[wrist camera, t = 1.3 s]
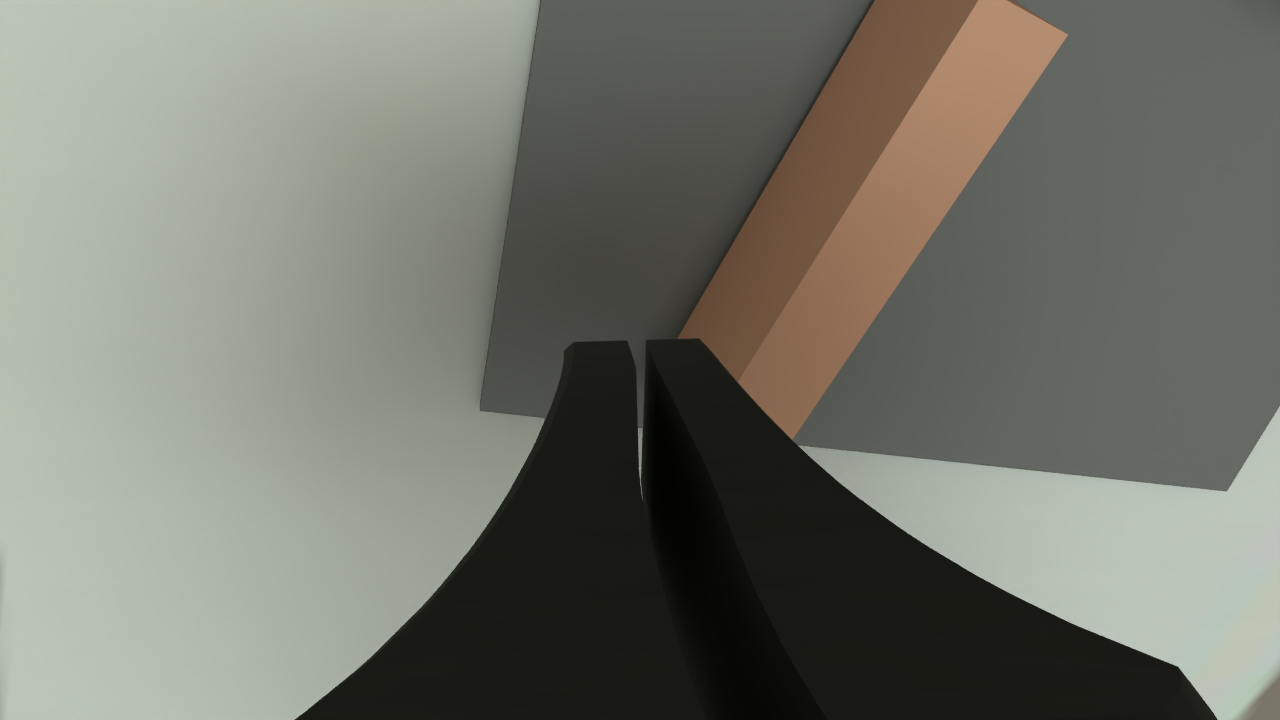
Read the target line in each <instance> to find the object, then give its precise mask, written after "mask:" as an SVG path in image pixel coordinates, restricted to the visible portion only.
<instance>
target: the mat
mask: <svg viewBox="0 0 1280 720" xmlns="http://www.w3.org/2000/svg"><path fill="white" fill-rule="evenodd" d="M874 1H875V0H541V2H540V8H539V15H538V22H537V28H536V35H535V42H534V48H533V55H532V62H531V68H530V75H529V82H528V88H527V95H526V102H525V108H524V115H523V122H522V128H521V135H520V142H519V148H518V155H517V161H516V168H515V175H514V181H513V188H512V195H511V201H510V208H509V215H508V221H507V228H506V235H505V241H504V248H503V255H502V261H501V268H500V275H499V281H498V288H497V295H496V301H495V308H494V314H493V321H492V328H491V334H490V341H489V348H488V354H487V361H486V368H485V374H484V381H483V388H482V394H481V401H480V411H487V412H496V413H506V414H515V415H524V416H533V417H543V418H546V417H547V415H548V412H549V410H550V408H551V405H552V402H553V399H554V396H555V393H556V390H557V387H558V384H559V381H560V377H561V373H562V367H563V362H564V350H565V349H566V348H567V347H568V346H570V345H571V344H572V343H573V342H586V341H622V340H627V342H628V344H629V347H630V350H631V352H632V356H633V359H634V363H635V366H636V376H637V416H638V428H643V410H644V381H645V352H646V340H657V339H677V338H678V336H679V335H680V333H681V331H682V330H683V328H684V326H685V324H686V323H687V321H688V319H689V318H690V316H691V314H692V312H693V311H694V309H695V307H696V306H697V304H698V302H699V300H700V299H701V297H702V295H703V294H704V292H705V290H706V288H707V287H708V285H709V283H710V282H711V280H712V278H713V276H714V275H715V273H716V271H717V270H718V268H719V266H720V264H721V263H722V261H723V259H724V258H725V256H726V254H727V253H728V251H729V249H730V247H731V246H732V244H733V242H734V241H735V239H736V237H737V235H738V234H739V232H740V230H741V229H742V227H743V225H744V223H745V222H746V220H747V218H748V217H749V215H750V213H751V211H752V210H753V208H754V206H755V205H756V203H757V201H758V199H759V198H760V196H761V194H762V193H763V191H764V189H765V187H766V186H767V184H768V182H769V181H770V179H771V177H772V175H773V174H774V172H775V170H776V169H777V167H778V165H779V163H780V162H781V160H782V158H783V157H784V155H785V153H786V152H787V150H788V148H789V146H790V145H791V143H792V141H793V140H794V138H795V136H796V134H797V133H798V131H799V129H800V128H801V126H802V124H803V122H804V121H805V119H806V117H807V116H808V114H809V112H810V110H811V109H812V107H813V105H814V104H815V102H816V100H817V98H818V97H819V95H820V93H821V92H822V90H823V88H824V86H825V85H826V83H827V81H828V80H829V78H830V76H831V74H832V73H833V71H834V69H835V68H836V66H837V64H838V63H839V61H840V59H841V57H842V56H843V54H844V52H845V51H846V49H847V47H848V45H849V44H850V42H851V40H852V39H853V37H854V35H855V33H856V32H857V30H858V28H859V27H860V25H861V23H862V21H863V20H864V18H865V16H866V15H867V13H868V11H869V9H870V8H871V6H872V4H873V3H874ZM1015 1H1017V2H1018V3H1020V4H1021V5H1023V6H1024V7H1026V8H1027V9H1029V10H1031V11H1032V12H1034V13H1035V14H1037V15H1038V16H1040V17H1041V18H1043V19H1045V20H1046V21H1048V22H1049V23H1051V24H1052V25H1054V26H1055V27H1057V28H1059V29H1060V30H1062V31H1063V32H1065V33H1066V34H1068V36H1067V37H1066V39H1065V40H1064V42H1063V43H1062V45H1061V46H1060V48H1059V49H1058V51H1057V52H1056V53H1055V55H1054V56H1053V58H1052V59H1051V61H1050V62H1049V64H1048V65H1047V67H1046V68H1045V70H1044V71H1043V73H1042V74H1041V75H1040V77H1039V78H1038V80H1037V81H1036V83H1035V84H1034V86H1033V87H1032V89H1031V90H1030V92H1029V93H1028V95H1027V96H1026V97H1025V99H1024V100H1023V102H1022V103H1021V105H1020V106H1019V108H1018V109H1017V111H1016V112H1015V114H1014V115H1013V117H1012V118H1011V120H1010V121H1009V122H1008V124H1007V125H1006V127H1005V128H1004V130H1003V131H1002V133H1001V134H1000V136H999V137H998V139H997V140H996V142H995V143H994V144H993V146H992V147H991V149H990V150H989V152H988V153H987V155H986V156H985V158H984V159H983V161H982V162H981V164H980V165H979V166H978V168H977V169H976V171H975V172H974V174H973V175H972V177H971V178H970V180H969V181H968V183H967V184H966V186H965V187H964V189H963V190H962V191H961V193H960V194H959V196H958V197H957V199H956V200H955V202H954V203H953V205H952V206H951V208H950V209H949V211H948V212H947V213H946V215H945V216H944V218H943V219H942V221H941V222H940V224H939V225H938V227H937V228H936V230H935V231H934V233H933V234H932V235H931V237H930V238H929V240H928V241H927V243H926V244H925V246H924V247H923V249H922V250H921V252H920V253H919V255H918V256H917V258H916V259H915V260H914V262H913V263H912V265H911V266H910V268H909V269H908V271H907V272H906V274H905V275H904V277H903V278H902V280H901V281H900V282H899V284H898V285H897V287H896V288H895V290H894V291H893V293H892V294H891V296H890V297H889V299H888V300H887V302H886V303H885V304H884V306H883V307H882V309H881V310H880V312H879V313H878V315H877V316H876V318H875V319H874V321H873V322H872V324H871V325H870V326H869V328H868V329H867V331H866V332H865V334H864V335H863V337H862V338H861V340H860V341H859V343H858V344H857V346H856V347H855V349H854V350H853V351H852V353H851V354H850V356H849V357H848V359H847V360H846V362H845V363H844V365H843V366H842V368H841V369H840V371H839V372H838V373H837V375H836V376H835V378H834V379H833V381H832V382H831V384H830V385H829V387H828V388H827V390H826V391H825V393H824V394H823V395H822V397H821V398H820V400H819V401H818V403H817V404H816V406H815V407H814V409H813V410H812V412H811V413H810V415H809V416H808V418H807V419H806V420H805V422H804V423H803V425H802V426H801V428H800V429H799V431H798V432H797V434H796V435H795V437H794V438H793V441H794V442H795V443H796V444H797V445H802V446H811V447H821V448H830V449H839V450H848V451H858V452H867V453H876V454H885V455H895V456H904V457H913V458H923V459H932V460H941V461H950V462H960V463H969V464H978V465H987V466H997V467H1006V468H1015V469H1024V470H1034V471H1043V472H1052V473H1061V474H1071V475H1080V476H1089V477H1099V478H1108V479H1117V480H1126V481H1136V482H1145V483H1154V484H1163V485H1173V486H1182V487H1191V488H1200V489H1210V490H1219V491H1227V490H1228V489H1229V487H1230V486H1231V484H1232V482H1233V481H1234V479H1235V477H1236V476H1237V474H1238V473H1239V471H1240V469H1241V468H1242V466H1243V464H1244V463H1245V461H1246V460H1247V458H1248V456H1249V455H1250V453H1251V452H1252V450H1253V448H1254V447H1255V445H1256V443H1257V442H1258V440H1259V439H1260V437H1261V435H1262V434H1263V432H1264V430H1265V429H1266V427H1267V426H1268V424H1269V422H1270V421H1271V419H1272V418H1273V416H1274V414H1275V413H1276V411H1277V409H1278V408H1279V406H1280V0H1015Z"/></svg>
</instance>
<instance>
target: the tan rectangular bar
mask: <svg viewBox="0 0 1280 720" xmlns="http://www.w3.org/2000/svg"><path fill="white" fill-rule="evenodd" d="M1067 36H1068V34H1066V33H1065V32H1063V31H1062V30H1060V29H1059V28H1057V27H1055V26H1054V25H1052V24H1051V23H1049V22H1048V21H1046V20H1045V19H1043V18H1041V17H1040V16H1038V15H1037V14H1035V13H1034V12H1032V11H1031V10H1029V9H1027V8H1026V7H1024V6H1023V5H1021V4H1020V3H1018V2H1017V1H1015V0H875V1H874V3H873V4H872V6H871V8H870V9H869V11H868V13H867V15H866V16H865V18H864V20H863V21H862V23H861V25H860V27H859V28H858V30H857V32H856V33H855V35H854V37H853V39H852V40H851V42H850V44H849V45H848V47H847V49H846V51H845V52H844V54H843V56H842V57H841V59H840V61H839V63H838V64H837V66H836V68H835V69H834V71H833V73H832V74H831V76H830V78H829V80H828V81H827V83H826V85H825V86H824V88H823V90H822V92H821V93H820V95H819V97H818V98H817V100H816V102H815V104H814V105H813V107H812V109H811V110H810V112H809V114H808V116H807V117H806V119H805V121H804V122H803V124H802V126H801V128H800V129H799V131H798V133H797V134H796V136H795V138H794V140H793V141H792V143H791V145H790V146H789V148H788V150H787V152H786V153H785V155H784V157H783V158H782V160H781V162H780V163H779V165H778V167H777V169H776V170H775V172H774V174H773V175H772V177H771V179H770V181H769V182H768V184H767V186H766V187H765V189H764V191H763V193H762V194H761V196H760V198H759V199H758V201H757V203H756V205H755V206H754V208H753V210H752V211H751V213H750V215H749V217H748V218H747V220H746V222H745V223H744V225H743V227H742V229H741V230H740V232H739V234H738V235H737V237H736V239H735V241H734V242H733V244H732V246H731V247H730V249H729V251H728V253H727V254H726V256H725V258H724V259H723V261H722V263H721V264H720V266H719V268H718V270H717V271H716V273H715V275H714V276H713V278H712V280H711V282H710V283H709V285H708V287H707V288H706V290H705V292H704V294H703V295H702V297H701V299H700V300H699V302H698V304H697V306H696V307H695V309H694V311H693V312H692V314H691V316H690V318H689V319H688V321H687V323H686V324H685V326H684V328H683V330H682V331H681V333H680V335H679V336H678V338H677V339H692V338H699V339H700V340H701V341H702V342H703V343H704V344H705V345H706V346H707V347H708V348H709V349H710V350H711V351H712V353H713V354H714V355H715V356H716V357H717V358H718V360H719V361H720V362H721V363H722V364H723V366H724V367H725V368H726V369H727V370H728V372H729V373H730V374H731V375H732V376H733V377H734V378H735V380H736V381H737V382H738V383H739V384H740V385H741V386H742V388H743V389H744V390H745V391H746V392H747V393H748V394H749V395H750V397H751V398H752V399H753V400H754V401H755V402H756V403H757V404H758V405H759V406H760V407H761V409H762V410H763V411H764V412H765V413H766V414H767V415H768V416H769V417H770V418H771V419H772V420H773V421H774V422H775V423H776V424H777V425H778V426H779V427H780V428H781V429H782V430H783V431H784V432H785V433H786V434H787V435H788V436H789V437H790V438H791V439H792V440H793V438H794V437H795V435H796V434H797V432H798V431H799V429H800V428H801V426H802V425H803V423H804V422H805V420H806V419H807V418H808V416H809V415H810V413H811V412H812V410H813V409H814V407H815V406H816V404H817V403H818V401H819V400H820V398H821V397H822V395H823V394H824V393H825V391H826V390H827V388H828V387H829V385H830V384H831V382H832V381H833V379H834V378H835V376H836V375H837V373H838V372H839V371H840V369H841V368H842V366H843V365H844V363H845V362H846V360H847V359H848V357H849V356H850V354H851V353H852V351H853V350H854V349H855V347H856V346H857V344H858V343H859V341H860V340H861V338H862V337H863V335H864V334H865V332H866V331H867V329H868V328H869V326H870V325H871V324H872V322H873V321H874V319H875V318H876V316H877V315H878V313H879V312H880V310H881V309H882V307H883V306H884V304H885V303H886V302H887V300H888V299H889V297H890V296H891V294H892V293H893V291H894V290H895V288H896V287H897V285H898V284H899V282H900V281H901V280H902V278H903V277H904V275H905V274H906V272H907V271H908V269H909V268H910V266H911V265H912V263H913V262H914V260H915V259H916V258H917V256H918V255H919V253H920V252H921V250H922V249H923V247H924V246H925V244H926V243H927V241H928V240H929V238H930V237H931V235H932V234H933V233H934V231H935V230H936V228H937V227H938V225H939V224H940V222H941V221H942V219H943V218H944V216H945V215H946V213H947V212H948V211H949V209H950V208H951V206H952V205H953V203H954V202H955V200H956V199H957V197H958V196H959V194H960V193H961V191H962V190H963V189H964V187H965V186H966V184H967V183H968V181H969V180H970V178H971V177H972V175H973V174H974V172H975V171H976V169H977V168H978V166H979V165H980V164H981V162H982V161H983V159H984V158H985V156H986V155H987V153H988V152H989V150H990V149H991V147H992V146H993V144H994V143H995V142H996V140H997V139H998V137H999V136H1000V134H1001V133H1002V131H1003V130H1004V128H1005V127H1006V125H1007V124H1008V122H1009V121H1010V120H1011V118H1012V117H1013V115H1014V114H1015V112H1016V111H1017V109H1018V108H1019V106H1020V105H1021V103H1022V102H1023V100H1024V99H1025V97H1026V96H1027V95H1028V93H1029V92H1030V90H1031V89H1032V87H1033V86H1034V84H1035V83H1036V81H1037V80H1038V78H1039V77H1040V75H1041V74H1042V73H1043V71H1044V70H1045V68H1046V67H1047V65H1048V64H1049V62H1050V61H1051V59H1052V58H1053V56H1054V55H1055V53H1056V52H1057V51H1058V49H1059V48H1060V46H1061V45H1062V43H1063V42H1064V40H1065V39H1066V37H1067Z"/></svg>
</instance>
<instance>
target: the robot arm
mask: <svg viewBox="0 0 1280 720" xmlns="http://www.w3.org/2000/svg"><path fill="white" fill-rule="evenodd" d="M641 486H642V495H641ZM641 486H640V477H639V458H638V416H637V376H636V366H635V363H634V359H633V356H632V352H631V350H630V347H629V344H628V342H627V340H622V341H586V342H573V343H572V344H571V345H570V346H568V347H567V348H566V349H565V350H564V362H563V367H562V373H561V377H560V381H559V384H558V387H557V390H556V393H555V396H554V399H553V402H552V405H551V408H550V410H549V412H548V415H547V417H546V419H545V422H544V424H543V426H542V429H541V431H540V433H539V436H538V438H537V440H536V442H535V444H534V447H533V449H532V451H531V453H530V454H529V456H528V458H527V460H526V462H525V464H524V465H523V467H522V469H521V471H520V473H519V474H518V476H517V478H516V480H515V482H514V484H513V485H512V487H511V489H510V491H509V493H508V494H507V496H506V497H505V499H504V501H503V502H502V504H501V505H500V507H499V509H498V510H497V512H496V513H495V515H494V516H493V518H492V519H491V521H490V522H489V524H488V525H487V527H486V528H485V529H484V531H483V532H482V534H481V535H480V536H479V538H478V539H477V541H476V542H475V544H474V545H473V546H472V548H471V549H470V550H469V551H468V553H467V554H466V555H465V556H464V558H463V559H462V560H461V561H460V563H459V564H458V565H457V566H456V568H455V569H454V570H453V571H452V573H451V574H450V575H449V576H448V578H447V579H446V580H445V581H444V582H443V584H442V585H441V586H440V587H439V588H438V589H437V591H436V592H435V593H434V594H433V595H432V596H431V597H430V599H429V600H428V601H427V602H426V603H425V604H424V605H423V606H422V607H421V608H420V609H419V610H418V611H417V612H416V613H415V614H414V615H413V616H412V617H411V618H410V619H409V620H408V621H407V622H406V623H405V624H404V625H403V626H402V627H401V628H400V629H399V630H398V631H397V632H396V633H395V634H394V635H393V636H392V637H391V638H390V639H389V640H388V641H387V642H386V643H385V644H384V645H383V646H382V647H381V648H380V649H379V650H378V651H377V652H376V653H375V654H374V655H373V656H372V657H371V658H370V659H368V660H367V661H366V662H365V663H364V664H363V665H362V666H361V667H360V668H358V669H357V670H356V671H355V672H354V673H353V674H351V675H350V676H349V677H348V678H346V679H345V680H344V681H343V682H341V683H340V684H339V685H338V686H337V687H335V688H334V689H333V690H332V691H330V692H329V693H328V694H327V695H325V696H324V697H323V698H322V699H320V700H319V701H318V702H317V703H316V704H314V705H313V706H312V707H311V708H309V709H308V710H307V711H306V712H304V713H303V714H302V715H300V716H299V717H298V718H296V719H295V720H1217V718H1216V717H1215V715H1214V713H1213V712H1212V711H1211V709H1210V708H1209V707H1208V705H1207V704H1206V703H1205V701H1204V700H1203V699H1202V697H1201V696H1200V695H1199V693H1198V692H1197V691H1196V689H1195V688H1194V687H1193V685H1192V684H1191V683H1190V681H1189V680H1188V679H1187V678H1186V676H1185V675H1184V674H1183V673H1182V671H1181V670H1180V669H1179V667H1177V666H1174V665H1172V664H1170V663H1167V662H1165V661H1162V660H1160V659H1157V658H1155V657H1152V656H1150V655H1147V654H1145V653H1142V652H1140V651H1137V650H1135V649H1132V648H1130V647H1128V646H1125V645H1123V644H1120V643H1118V642H1115V641H1113V640H1110V639H1108V638H1105V637H1103V636H1100V635H1098V634H1095V633H1093V632H1090V631H1088V630H1086V629H1083V628H1081V627H1078V626H1076V625H1074V624H1072V623H1069V622H1067V621H1065V620H1063V619H1061V618H1059V617H1057V616H1055V615H1053V614H1051V613H1048V612H1046V611H1044V610H1042V609H1040V608H1038V607H1036V606H1034V605H1032V604H1030V603H1028V602H1026V601H1024V600H1022V599H1020V598H1018V597H1016V596H1014V595H1012V594H1010V593H1008V592H1006V591H1004V590H1002V589H1000V588H998V587H997V586H995V585H993V584H991V583H989V582H987V581H985V580H984V579H982V578H980V577H978V576H976V575H974V574H973V573H971V572H969V571H968V570H966V569H964V568H963V567H961V566H959V565H958V564H956V563H954V562H953V561H951V560H949V559H948V558H946V557H944V556H943V555H941V554H939V553H938V552H936V551H934V550H933V549H931V548H929V547H928V546H926V545H925V544H923V543H921V542H920V541H918V540H917V539H915V538H914V537H912V536H911V535H909V534H908V533H906V532H905V531H903V530H902V529H900V528H899V527H897V526H896V525H895V524H893V523H892V522H891V521H889V520H888V519H886V518H885V517H884V516H882V515H881V514H880V513H878V512H877V511H876V510H874V509H873V508H871V507H870V506H869V505H867V504H866V503H865V502H863V501H862V500H860V499H859V498H858V497H856V496H855V495H854V494H853V493H851V492H850V491H849V490H848V489H846V488H845V487H844V486H843V485H841V484H840V483H839V482H838V481H837V480H835V479H834V478H833V477H832V476H831V475H830V474H829V473H827V472H826V471H825V470H824V469H823V468H822V467H821V466H819V465H818V464H817V463H816V462H815V461H814V460H813V459H812V458H810V457H809V456H808V455H807V454H806V453H805V452H804V451H803V450H802V449H801V448H800V447H799V446H798V445H797V444H796V443H795V442H794V441H793V440H792V439H791V438H790V437H789V436H788V435H787V434H786V433H785V432H784V431H783V430H782V429H781V428H780V427H779V426H778V425H777V424H776V423H775V422H774V421H773V420H772V419H771V418H770V417H769V416H768V415H767V414H766V413H765V412H764V411H763V410H762V409H761V407H760V406H759V405H758V404H757V403H756V402H755V401H754V400H753V399H752V398H751V397H750V395H749V394H748V393H747V392H746V391H745V390H744V389H743V388H742V386H741V385H740V384H739V383H738V382H737V381H736V380H735V378H734V377H733V376H732V375H731V374H730V373H729V372H728V370H727V369H726V368H725V367H724V366H723V364H722V363H721V362H720V361H719V360H718V358H717V357H716V356H715V355H714V354H713V353H712V351H711V350H710V349H709V348H708V347H707V346H706V345H705V344H704V343H703V342H702V341H701V340H700V339H699V338H692V339H657V340H646V352H645V381H644V410H643V439H642V468H641ZM642 496H643V500H642Z"/></svg>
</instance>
